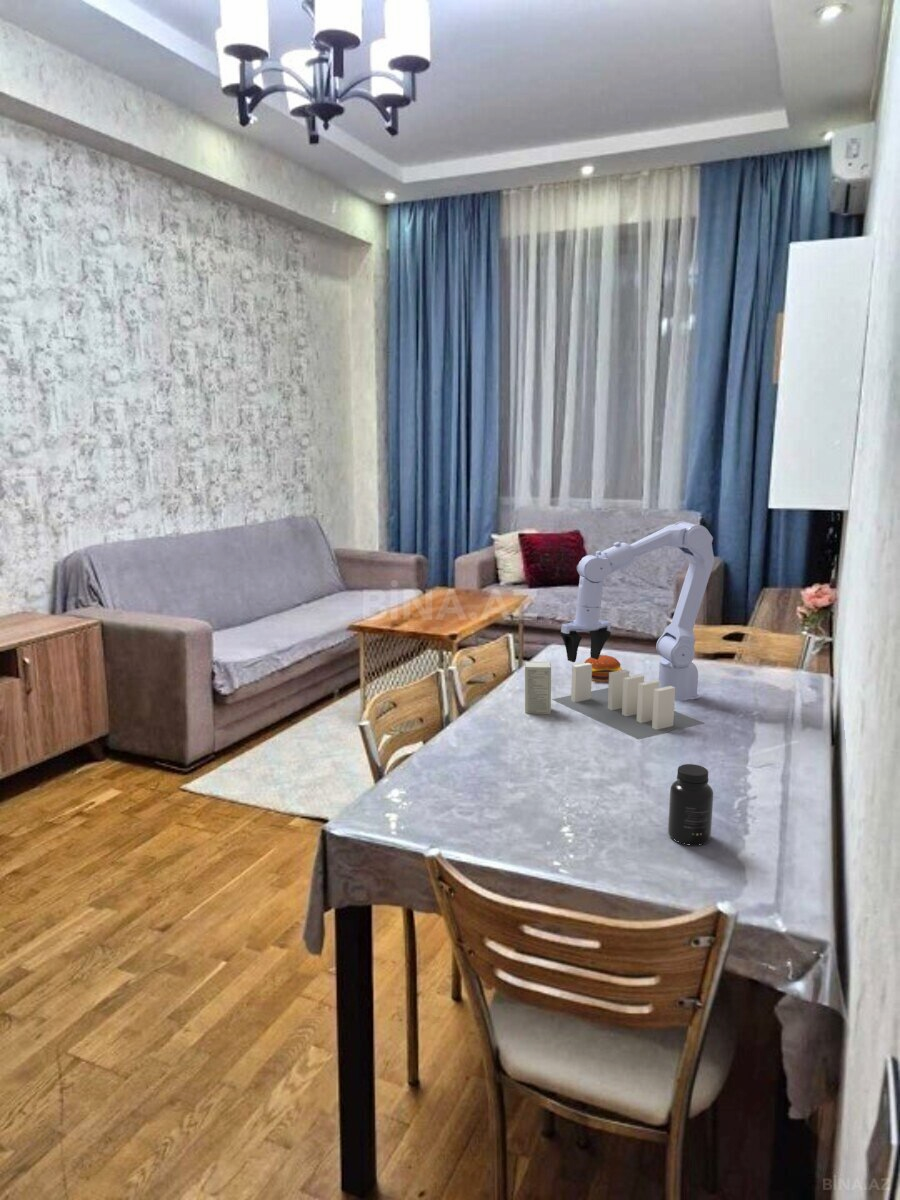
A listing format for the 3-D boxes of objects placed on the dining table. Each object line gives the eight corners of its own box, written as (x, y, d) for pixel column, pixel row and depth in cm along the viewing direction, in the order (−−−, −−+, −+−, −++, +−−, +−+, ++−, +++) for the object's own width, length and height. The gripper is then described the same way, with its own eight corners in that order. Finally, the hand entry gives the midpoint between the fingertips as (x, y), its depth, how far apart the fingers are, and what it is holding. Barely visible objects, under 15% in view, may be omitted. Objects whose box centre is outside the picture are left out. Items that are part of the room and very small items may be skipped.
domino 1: (571, 700, 202) (572, 665, 200) (586, 697, 204) (588, 662, 202) (574, 702, 201) (576, 667, 199) (590, 699, 203) (592, 664, 201)
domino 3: (621, 714, 192) (623, 677, 190) (637, 710, 194) (639, 674, 192) (626, 716, 191) (627, 679, 189) (642, 712, 193) (644, 676, 191)
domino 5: (651, 727, 183) (653, 689, 182) (668, 723, 186) (670, 685, 184) (656, 729, 182) (658, 691, 180) (673, 725, 185) (675, 687, 183)
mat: (613, 688, 213) (613, 686, 213) (704, 725, 186) (704, 722, 186) (551, 701, 203) (551, 699, 203) (638, 741, 177) (638, 739, 177)
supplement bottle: (661, 828, 138) (665, 761, 136) (700, 826, 139) (705, 760, 137) (676, 848, 132) (680, 778, 129) (717, 846, 132) (722, 777, 130)
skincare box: (550, 710, 197) (551, 661, 194) (550, 716, 192) (552, 667, 190) (524, 709, 197) (525, 661, 195) (524, 715, 193) (524, 666, 191)
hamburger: (614, 674, 226) (615, 651, 225) (623, 685, 217) (624, 661, 215) (580, 674, 226) (581, 651, 224) (587, 685, 216) (588, 661, 215)
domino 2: (607, 708, 196) (609, 672, 194) (623, 704, 199) (625, 669, 197) (611, 710, 195) (613, 674, 193) (627, 706, 197) (629, 670, 195)
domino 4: (636, 720, 188) (638, 683, 186) (652, 717, 190) (654, 680, 188) (641, 722, 186) (642, 685, 185) (657, 719, 189) (659, 681, 187)
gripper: (599, 600, 205) (593, 653, 207) (555, 603, 196) (549, 658, 199) (619, 606, 199) (613, 660, 201) (574, 609, 191) (569, 665, 193)
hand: (583, 659), depth 200 cm, fingers open, 7 cm apart
